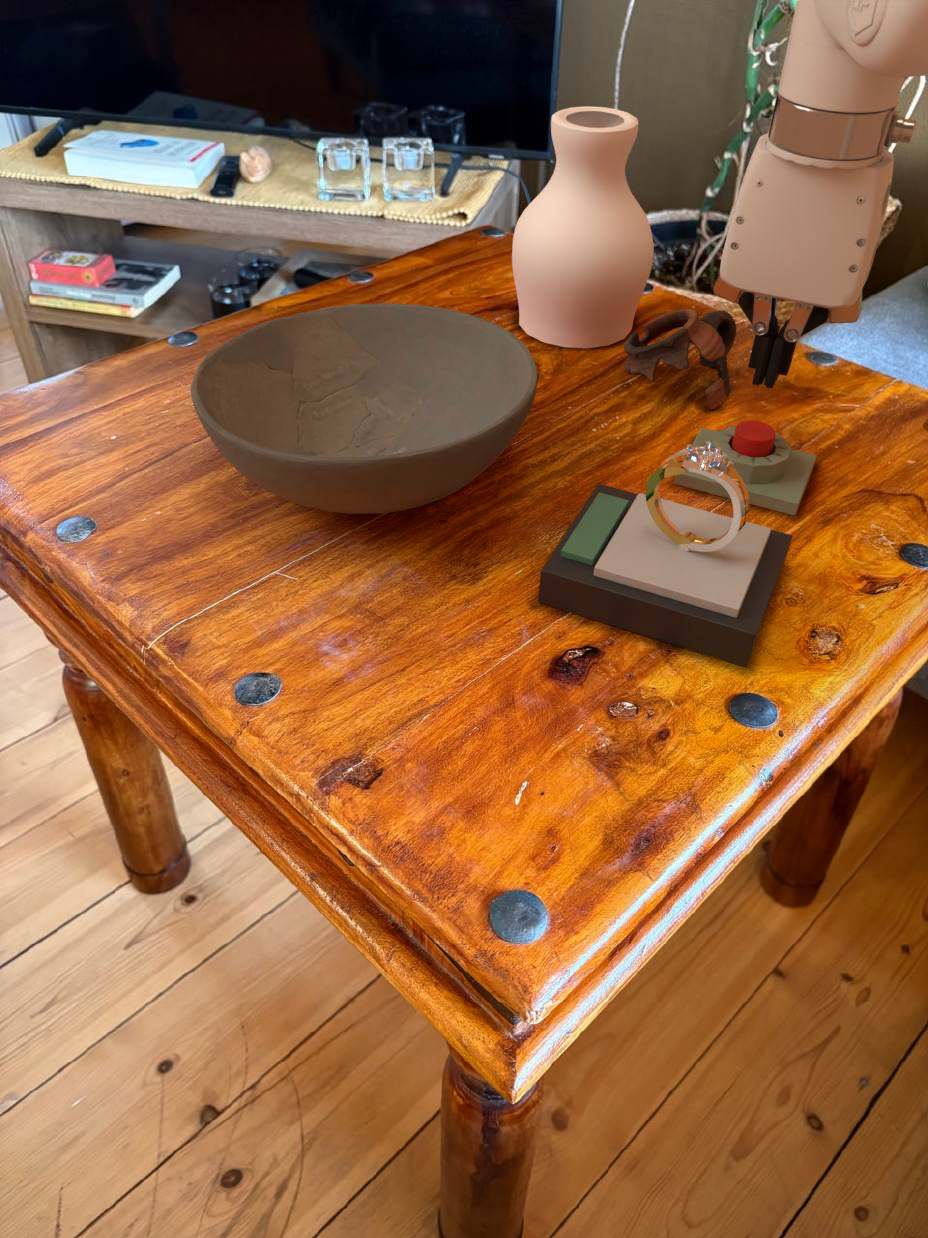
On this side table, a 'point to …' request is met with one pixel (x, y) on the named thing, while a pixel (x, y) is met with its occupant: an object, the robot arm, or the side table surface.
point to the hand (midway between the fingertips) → (766, 378)
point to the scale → (665, 574)
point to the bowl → (366, 403)
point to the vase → (583, 236)
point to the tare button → (753, 439)
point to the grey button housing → (757, 472)
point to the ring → (708, 465)
